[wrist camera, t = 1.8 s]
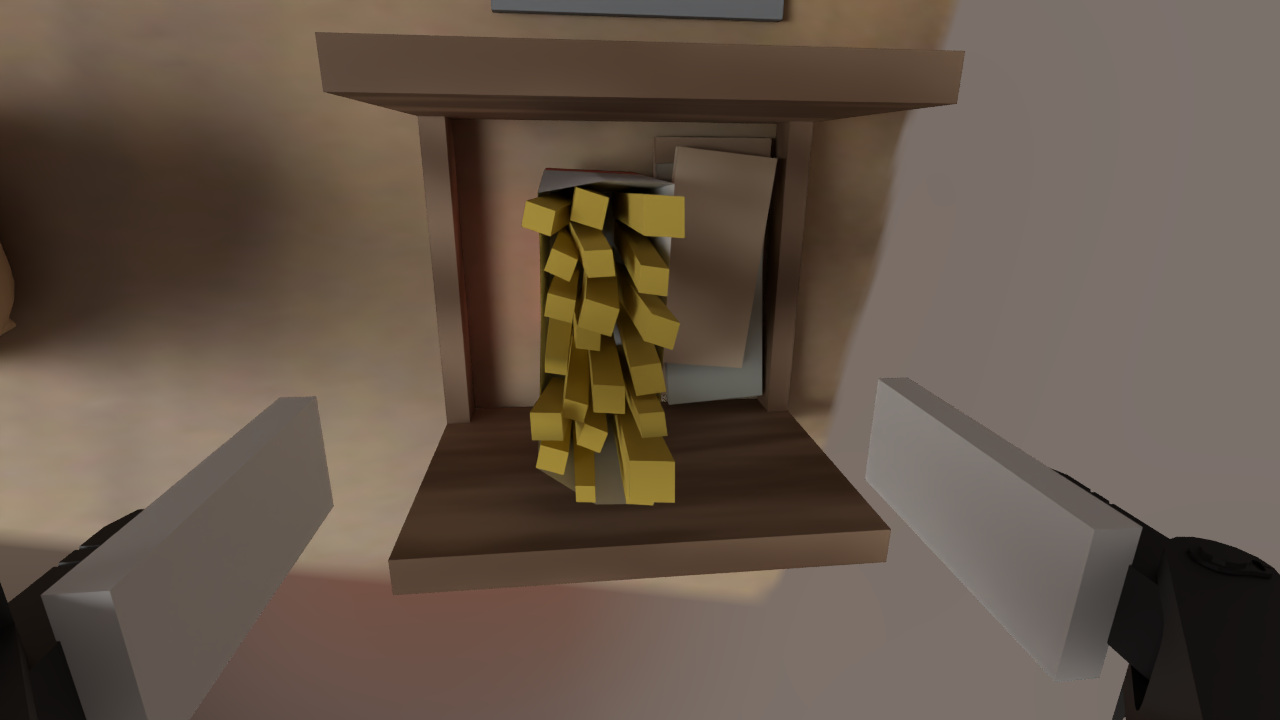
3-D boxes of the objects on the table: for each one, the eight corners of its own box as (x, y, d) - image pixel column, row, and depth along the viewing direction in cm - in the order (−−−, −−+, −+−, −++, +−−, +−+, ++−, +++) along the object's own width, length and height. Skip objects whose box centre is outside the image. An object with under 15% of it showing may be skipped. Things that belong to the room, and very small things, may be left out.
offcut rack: (423, 85, 30) (315, 32, 17) (801, 93, 32) (965, 50, 19) (455, 433, 36) (393, 595, 23) (774, 420, 38) (885, 562, 25)
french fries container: (539, 366, 35) (517, 562, 18) (540, 166, 32) (512, 180, 15) (620, 367, 36) (670, 558, 19) (629, 170, 33) (698, 189, 16)
